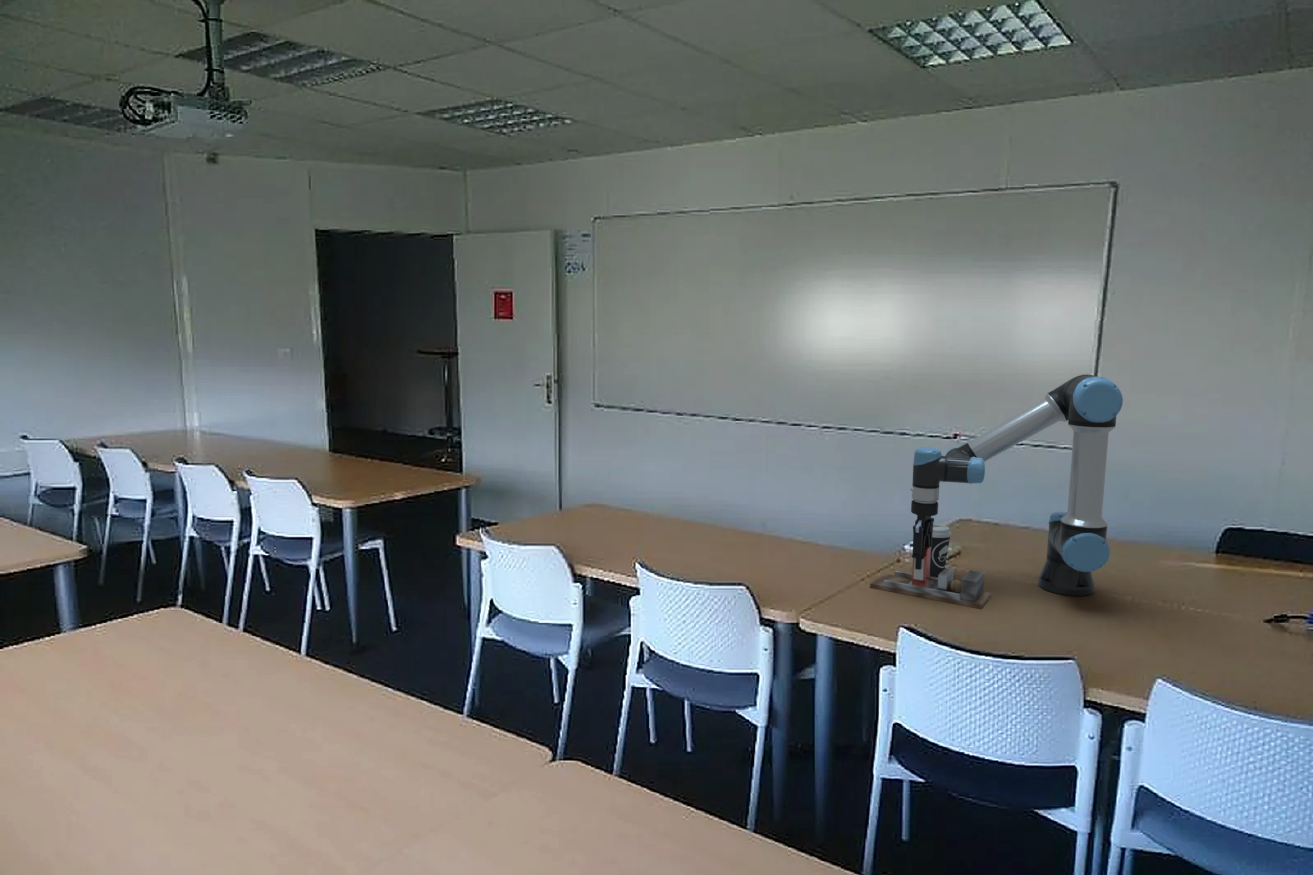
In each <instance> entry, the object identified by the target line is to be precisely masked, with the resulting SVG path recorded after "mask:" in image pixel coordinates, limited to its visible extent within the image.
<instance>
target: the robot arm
mask: <svg viewBox="0 0 1313 875" xmlns="http://www.w3.org/2000/svg"><path fill="white" fill-rule="evenodd" d="M1123 401H1124V398H1123V394H1122V392H1121V389H1120V388H1119V387H1118V386H1117V385H1116V383H1114V382H1113V381H1111V379H1108V378H1106V377H1102V376H1096V375H1093V374H1080V375H1077V376H1074V377H1073V378H1071V379H1068V380H1067V381H1065V382H1064V383H1062V384H1061V385H1059V386H1058V387H1056V388H1054V389H1053V390H1051V391H1049V392H1047V393H1046V394H1045V396H1044V399H1042V400H1040V401H1039V402H1037V403H1035V404H1033V405H1032V406H1029V407H1028V408H1026V409H1024V410H1023V411H1021V412H1019V413H1017V414H1016V415H1014V416H1012V417H1010V418H1008V419H1006V420H1005V421H1003V422H1002V423H1000V424H998V425H996V426H995V427H993V428H991V429H989V430H987V431H985V432H984V433H981V434H980V435H978V436H977V437H975V438H973V439H972V440H969V441H968V442H966V443H964V444H963V445H961V446H958V447H953V448H950V449H949V450H948V451H947V452H946V453H945V455H943V454H942V450H941V449H939V448H935V447H919V448H917V449H915V450H914V456H913V463H912V464H913V465H912V486H911V487H910V491H911V499H912V500H911V504H910V512H911V513H912V514H914V515H916V516H917V517H916V520H915V521H914V525H913V526H912V534H913V535H912V553H911V554H912V555H911V558H912V559H913V558H915V560H914V578H913V579H918V580H923V578H924V560H925V558H924V548H925V545H928V546H931V549H932V534H933V524H934V522H935V518H934V517H935V516H937V515H938V513H939V502H938V501H939V497H940V482H942V483H946V482H947V483H959V484H960V483H963V484H970V485H972V484H981V483H983V482H984V480H985V474H986V472H985V471H986V470H985V469H986V464H985V462H987V461H988V460H990V459H992V458H995V457H996V456H998V455H999V454H1001V453H1003V452H1005V451H1007V450H1009V449H1011V448H1012V447H1014V446H1016V445H1018V444H1020V443H1022V442H1023V441H1026V440H1027V439H1029V438H1031V437H1032V436H1035V435H1036V434H1039V432H1040V433H1041V432H1042V431H1044V430H1045V429H1047V428H1048V427H1051V426H1052V425H1054V424H1056V423H1058V422H1063V423H1065V422H1067V425H1068V426H1069V427H1070V429H1072V431H1073V436H1072V448H1071V464H1070V473H1069V475H1070V476H1069V488H1068V503H1067V512H1065V511H1064V512H1063V511H1062V512H1061V511H1057V512H1052V513H1051V514H1050V516H1049V520H1048V535H1047V548H1046V561H1045V563H1044V565H1043V566H1042V569H1041V571H1040V574H1039V576H1038V582H1037V583H1038V586H1039V587H1040V588H1042V589H1043V590H1045V591H1048V592H1050V593H1055V594H1058V595H1063V596H1064V595H1065V596H1073V597H1075V596H1076V597H1084V596H1089V595H1093V594H1094V592H1095V581H1094V578H1093V574H1092V572H1095V571H1098V570H1099V569H1101V568H1102V567H1104V566H1105V565H1106V564H1107V563H1108V561H1109V559H1110V555H1111V550H1110V545H1109V543H1108V541H1107V534H1108V522H1106V520H1105V519H1104V518H1103V508H1104V507H1103V505H1104V493H1105V483H1106V482H1105V481H1106V480H1105V479H1106V470H1107V469H1106V468H1107V459H1108V458H1107V457H1108V456H1107V455H1108V446H1109V445H1108V444H1109V433H1110V432H1111V431H1113V430H1114V429H1115V428H1116V423H1117V415H1118V414H1119V413H1120V412H1121V409H1122V407H1123ZM933 516H934V517H933ZM931 554H932V551H931Z"/></svg>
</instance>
